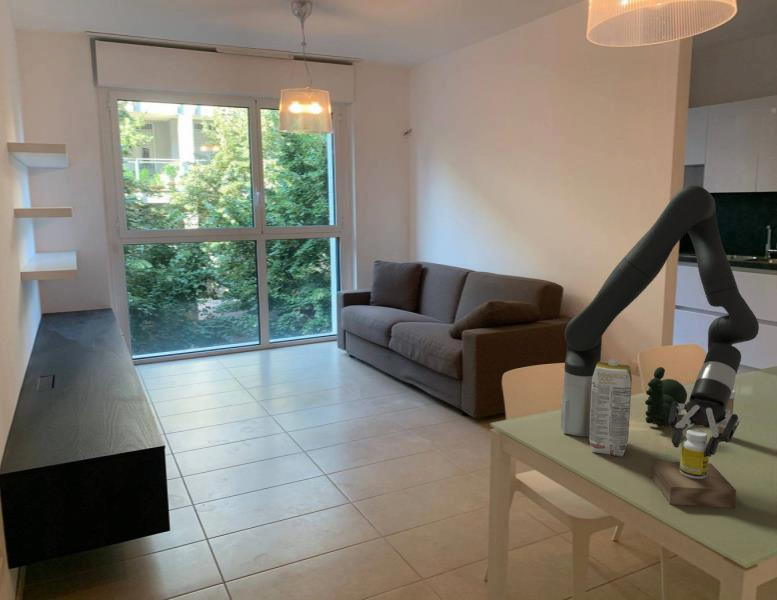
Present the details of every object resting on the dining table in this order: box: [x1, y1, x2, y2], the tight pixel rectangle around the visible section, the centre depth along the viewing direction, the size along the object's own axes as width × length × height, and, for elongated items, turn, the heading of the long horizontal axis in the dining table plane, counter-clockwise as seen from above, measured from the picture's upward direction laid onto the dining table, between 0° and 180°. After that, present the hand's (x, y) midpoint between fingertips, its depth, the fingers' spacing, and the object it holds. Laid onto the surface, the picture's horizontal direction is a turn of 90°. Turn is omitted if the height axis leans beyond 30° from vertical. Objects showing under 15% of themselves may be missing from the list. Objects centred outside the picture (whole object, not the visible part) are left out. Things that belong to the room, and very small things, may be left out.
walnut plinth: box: [650, 460, 737, 509], centre depth 132 cm, size 13×13×4 cm
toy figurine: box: [644, 366, 688, 427], centre depth 174 cm, size 9×19×25 cm
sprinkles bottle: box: [717, 389, 736, 433], centre depth 162 cm, size 5×5×13 cm
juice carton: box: [589, 358, 633, 457], centre depth 152 cm, size 9×8×24 cm
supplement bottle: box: [679, 428, 710, 479], centre depth 131 cm, size 5×5×10 cm
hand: (691, 450), depth 129 cm, fingers open, 6 cm apart
